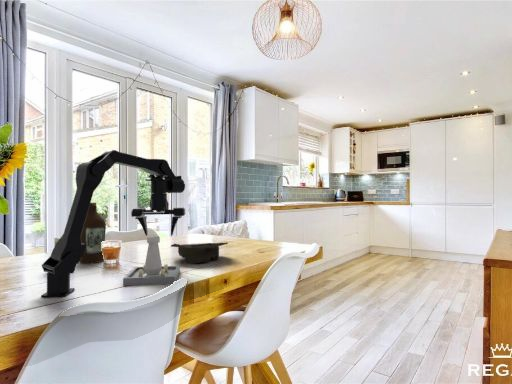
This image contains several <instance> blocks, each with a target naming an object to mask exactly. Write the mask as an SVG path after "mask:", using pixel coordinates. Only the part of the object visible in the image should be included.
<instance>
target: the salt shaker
mask: <svg viewBox="0 0 512 384" xmlns="http://www.w3.org/2000/svg"><path fill="white" fill-rule="evenodd" d="M160 242H161V239H160V236H159V235H149V236H148V237H146V243H147V244H148V246H147V251H146V258H145V261H144V263H145V264H144V265H145V267H144V268H145V271H146V273H147V275H157V274H160V271H161V269H162V266H163V263H162V260H161V253H160V247H159V243H160Z"/></svg>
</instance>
